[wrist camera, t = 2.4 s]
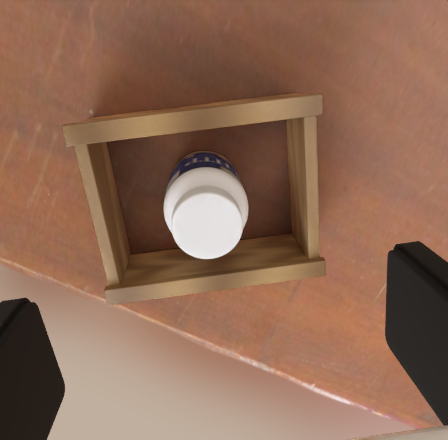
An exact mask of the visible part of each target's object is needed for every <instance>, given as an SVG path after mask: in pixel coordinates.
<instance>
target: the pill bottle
mask: <svg viewBox="0 0 448 440" xmlns="http://www.w3.org/2000/svg"><path fill="white" fill-rule="evenodd" d="M164 217H165V220H166V223H167V226H168V228H169V229H170V231H171V232H172V234H173V237H174V240H175V241H176V243H177V245H178V246H179V247H180V248H181V249H182V250H183V251H184V252H186V253H187V254H189V255H191V256H193V257H196V258H200V259H213V258H217V257H221V256H223V255H225V254H227V253H228V252H230V251H231V250H232V249H233V248H234V247H235V246H236V244H237V243H238V241H239V240H240V238H241V235H242V231H243V228H244V226H245V224H246V221H247V217H248V200H247V196H246V193H245V190H244V188H243V186H242V183H241V181H240V178H239V176H238V173H237V171H236V169H235V167H234V166H233V165H232V163H231V162H230V161H229V160H228V159H226V158H225V157H224V156H222V155H220V154H218V153H215V152H211V151H198V152H194V153H191V154H189V155H187V156H185V157H184V158H182V159H181V160H180V161H179V162H178V163H177V164H176V166H175V167H174V169H173V171H172V173H171V176H170V179H169V183H168V186H167V190H166V194H165V199H164Z"/></svg>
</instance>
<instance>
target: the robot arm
mask: <svg viewBox="0 0 448 440" xmlns="http://www.w3.org/2000/svg"><path fill="white" fill-rule="evenodd" d="M385 336H386V341H387V344H388V346H389V348H390V349H391V351H392V352H393V354H394V355H395V357H396V358H397V359H398V361H399V362H400V364H401V365H402V367H403V368H404V369H405V371H406V372H407V374H408V375H409V377H410V378H411V379H412V381H413V382H414V384H415V385H416V386H417V388H418V389H419V391H420V392H421V394H422V395H423V396H424V398H425V399H426V401H427V402H428V404H429V405H430V406H431V408H432V409H433V411H434V412H435V413H436V415H437V416H438V418H439V419H440V421H441V422H442V423H443V425H444V426H437V427H430V428H423V429H416V430H409V431H403V432H396V433H390V434H382V435H376V436H370V437H362V438H355V439H349V440H448V262H446V261H445V260H444V259H442V258H441V257H440V256H438V255H437V254H436V253H434V252H433V251H432V250H430V249H429V248H428V247H427V246H425V245H424V244H423V243H421V242H419V241H416V242H409V243H402V244H396V245H395V247H394V250H391V251H389V253H388V262H387V294H386V326H385ZM64 393H65V384H64V380H63V377H62V374H61V371H60V369H59V366H58V363H57V360H56V357H55V354H54V351H53V348H52V346H51V343H50V340H49V337H48V335H47V331H46V328H45V325H44V323H43V320H42V317H41V314H40V311H39V308H38V306H37V305H36V303H34V302H30V301H29V300H28V299H27V298H21V299H15V300H7V301H2V302H1V303H0V440H47V437H48V435H49V432H50V429H51V427H52V425H53V422H54V420H55V417H56V415H57V412H58V410H59V407H60V405H61V402H62V400H63V397H64Z"/></svg>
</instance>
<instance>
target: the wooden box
mask: <svg viewBox="0 0 448 440" xmlns="http://www.w3.org/2000/svg"><path fill="white" fill-rule="evenodd" d="M319 115H323V102H322V94H320V93H318V94H310V95H302V94H298V93H289V94H281V95H273V96H265V97H256V98H248V99H240V100H232V101H224V102H215V103H207V104H199V105H191V106H183V107H174V108H166V109H158V110H150V111H141V112H133V113H125V114H117V115H109V116H100V117H92V118H89V119H87V120H84V121H82V122H80V123H72V124H65V125H62V130H63V134H64V138H65V141H66V145H67V146H74V149H75V153H76V157H77V161H78V165H79V169H80V173H81V177H82V181H83V185H84V189H85V193H86V197H87V201H88V205H89V209H90V213H91V217H92V221H93V225H94V229H95V233H96V237H97V241H98V245H99V249H100V253H101V257H102V261H103V265H104V269H105V273H106V277H107V281H108V285H109V286H106V287H105V289H104V293H105V297H106V301H107V305H114V304H122V303H129V302H136V301H144V300H151V299H158V298H166V297H173V296H180V295H188V294H195V293H202V292H209V291H217V290H224V289H231V288H239V287H246V286H253V285H261V284H268V283H275V282H283V281H290V280H297V279H305V278H312V277H319V276H325V275H326V264H325V259H324V258H323V257H320V241H319V200H318V159H317V119H316V116H319ZM278 120H286V131H287V150H288V169H289V188H290V207H291V226H292V234H284V235H277V236H269V237H262V238H254V239H247V240H239V241H238V243H237V244H236V246H235V247H234V248H233V249H232V250H231V251H230V252H228V253H227V254H225V255H223V256H221V257H217V258H213V259H200V258H196V257H193V256H191V255H189V254H187V253H186V252H184V251H183V250H182V249H181V248H179V249H171V250H164V251H156V252H149V253H141V254H134V255H131V252H130V248H129V243H128V238H127V234H126V229H125V225H124V220H123V216H122V211H121V206H120V202H119V197H118V193H117V188H116V184H115V179H114V174H113V170H112V165H111V161H110V156H109V152H108V147H107V142H109V141H117V140H125V139H133V138H141V137H149V136H157V135H165V134H173V133H181V132H189V131H197V130H206V129H214V128H222V127H230V126H238V125H246V124H254V123H262V122H270V121H278Z"/></svg>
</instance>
